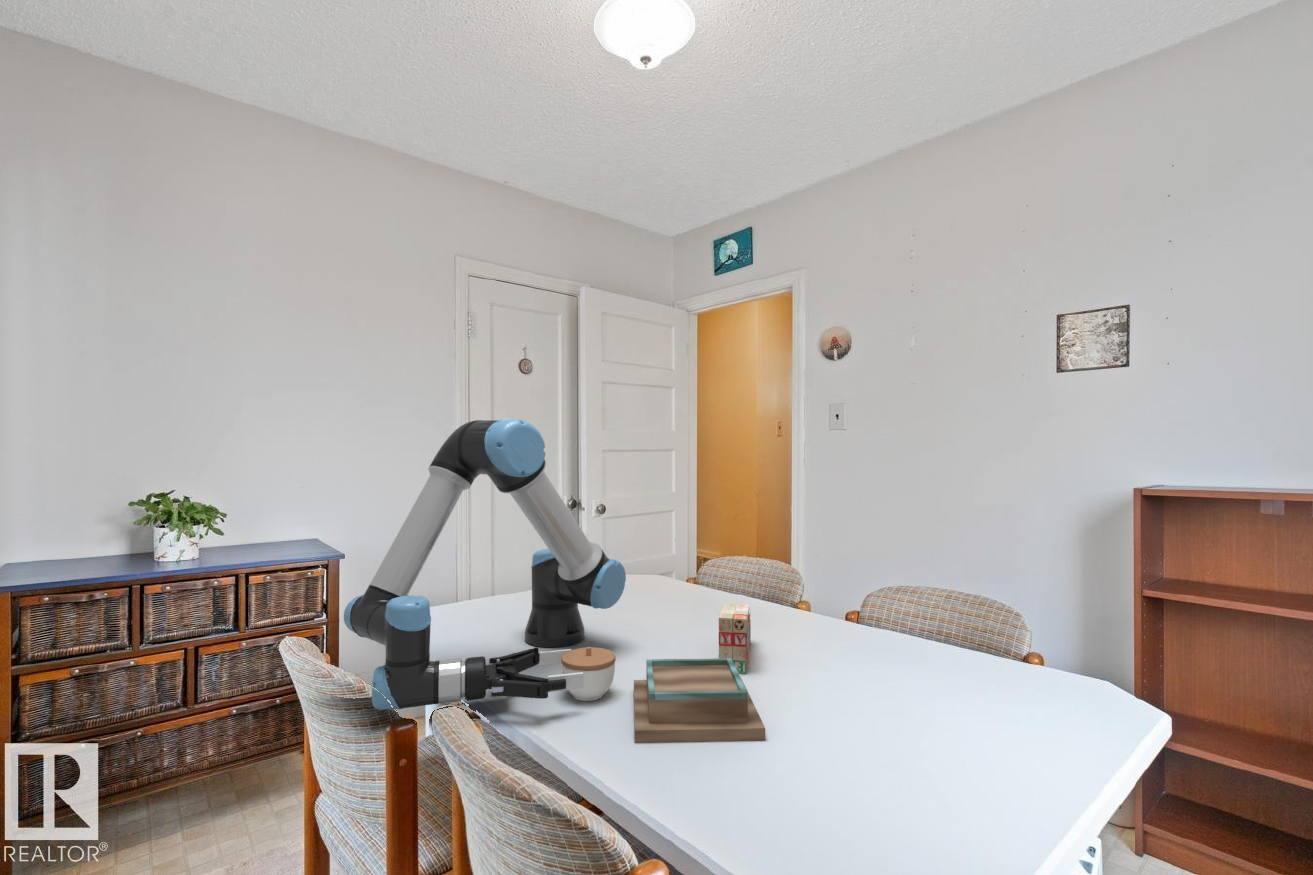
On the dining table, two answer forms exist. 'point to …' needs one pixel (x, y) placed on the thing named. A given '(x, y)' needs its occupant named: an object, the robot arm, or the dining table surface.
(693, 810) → the dining table surface
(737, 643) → the stack of blocks
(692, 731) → the base
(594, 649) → the lidded jar
